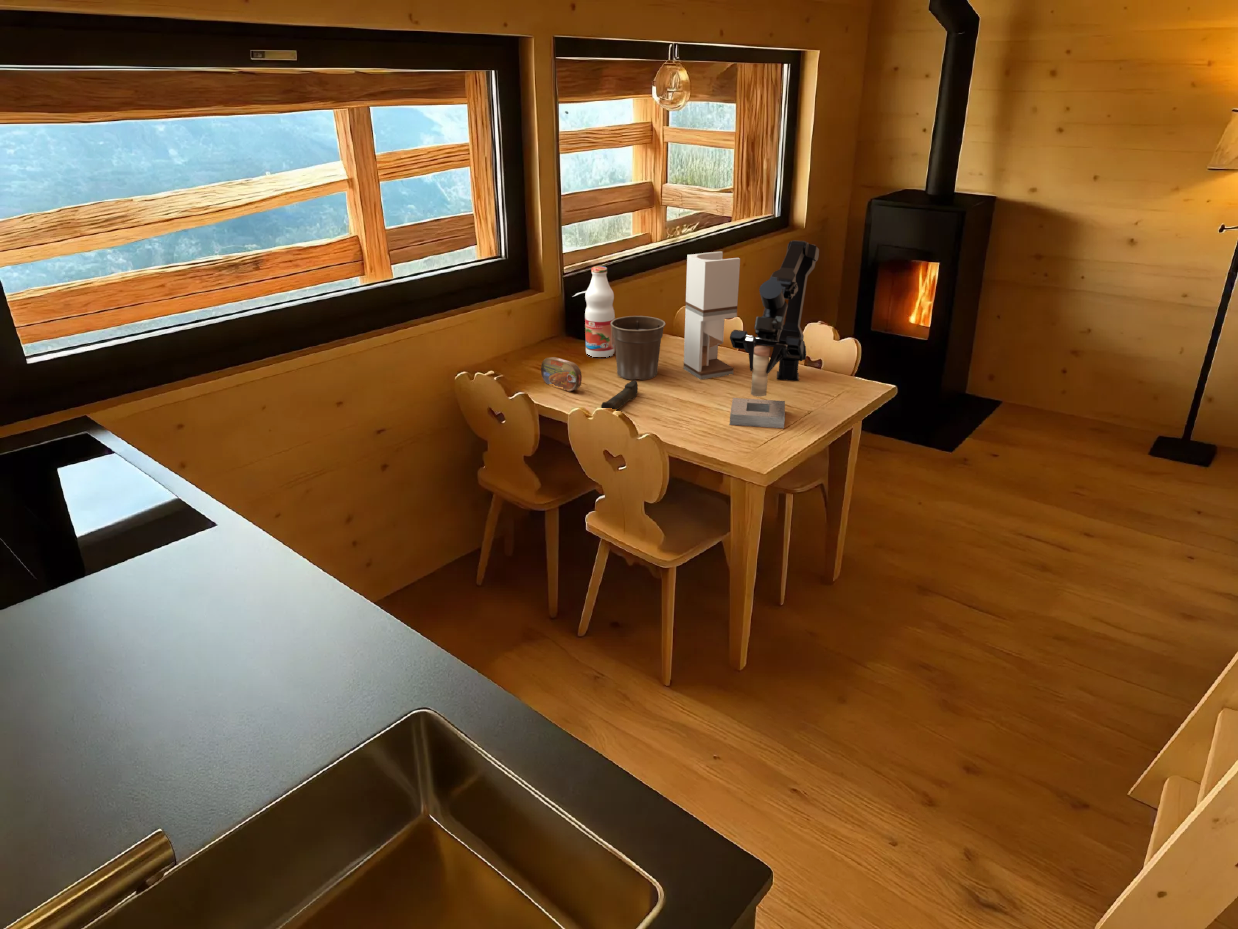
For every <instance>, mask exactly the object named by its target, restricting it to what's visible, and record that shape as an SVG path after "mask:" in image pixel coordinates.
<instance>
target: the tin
mask: <svg viewBox="0 0 1238 929" xmlns="http://www.w3.org/2000/svg"><path fill="white" fill-rule="evenodd" d="M540 372H541V377H542V379H543V381H544V382H545V384H547V385H548V384H554V385H555V386H558V387H563V389H565V390H567V391H566V392H572V391H574V390H577V389H579V388H580V387H581V385H582V381H583V380H582V379H583V377H582V371H581V368H580V367H579V365H577V363H575V362H573V361H569V360H566V359H563V358H559V357H555V356H553V357H552V356H551V357H546V358H545V359H543V361H542V363H541V365H540ZM565 390H564V391H565Z"/></svg>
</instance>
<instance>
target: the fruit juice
mask: <svg viewBox="0 0 1238 929" xmlns="http://www.w3.org/2000/svg"><path fill="white" fill-rule="evenodd" d="M590 271H591V274H592V276H591V280H590V283H589V285H588V287H587V289H586V291H585V296H584V298H585V299H584V300H585V302H586V307H585V310H584V311H585V313H584V321H585V322H584V323H585V324H584V328H585V329H584V332H585V333H584V334H585V353H586V355H587V354H588V355H590V356H592V357H591V358H593V357H606V358H610V357H613V356H614V355H613V354H615V352H616V350H615V339H614V337H613V329H612V326H611V321H612V320H614V319H616V317H615V316H616V315H615V309H614V305H613V303H614V299H615V294H614V291H613V289H612V287H611V286H610V283H609V281H608V277H607V274H608V267H606V266H601V265H599V266H598V265H596V266H593V267H591V270H590ZM588 355H587V356H588ZM590 356H589V357H590ZM609 356H610V357H609Z"/></svg>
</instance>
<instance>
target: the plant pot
mask: <svg viewBox="0 0 1238 929" xmlns="http://www.w3.org/2000/svg"><path fill="white" fill-rule="evenodd" d="M611 326H612V329H613V337H614V339H615V360H616V361H615V362H616V373H617V375H618V377H620V378H622V379H625V380H631V381H635V380H637V379H638V380H640V381H644V380H651V379H653V378H655V377H656V376H657V375H658V368H659V361H660V360H659V358H660V351H661V344H662V338H663V333H664V328H665V326H666V322H665V321H664V320H663V319H661V318H657V317H652V316H645V315H629V316H622V317H617V318H615V319H614V320H612V321H611Z"/></svg>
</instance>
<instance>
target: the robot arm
mask: <svg viewBox="0 0 1238 929" xmlns="http://www.w3.org/2000/svg"><path fill="white" fill-rule="evenodd" d="M819 253H820V249H819V248H818V246H817V245H816V244H813V243H812V244H811V243H809V242H807V241H805V240H794V239H793V240H790V241H789V242H788V243H787V247H786V254H785V256H784V259H783V260H782V263H781V266H780V268H779V269H777V270H775V271H774V272H772V273H771V275H770V277H769V279H768V280H766V281H764V282H763V283H762V284H761V285H760V286H759V289H758V290H759V295H760V298H761V302H762V306H763V307H764V309H763V313H762V316H755V317H756V318H755V321H754V322H755V323H754V330H755V332H754V334H755V335H756V336H755V335H748V334H749V333H748V331H747V330H741V329H733V330H732V331H731V332H730V336H729V340H730V343H731V345H732V348H734V349H738V350H744V351H745V353H748V361H749V371H750V372H753V358H754V347H756V346H766V347H769V348H770V347H771V348H773V349H772V353H771V356H770V357H769V363H768V366H767V371H766V373H767V374H768V375H769V374H770V372H771V371H772V370H773V369H774V367H776V365H778V371H776V380H777V381H778V380H779V381H794V382H798V381H800V374H799V365H800V363H799V362H802V361H806V359H807V347H806V344H805V340H804V337H805V336H804V333H803V331H802V328H801V321H802V314H803V309H804V308H803V307H804V302H805V297H806V296H805V295H806V289H807V282H808V276H809V275H810V274H811V273H812V272H813V270H814V269H815V268H816V262H818V260H819V256H820V254H819ZM786 300H788V301H786Z"/></svg>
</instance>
